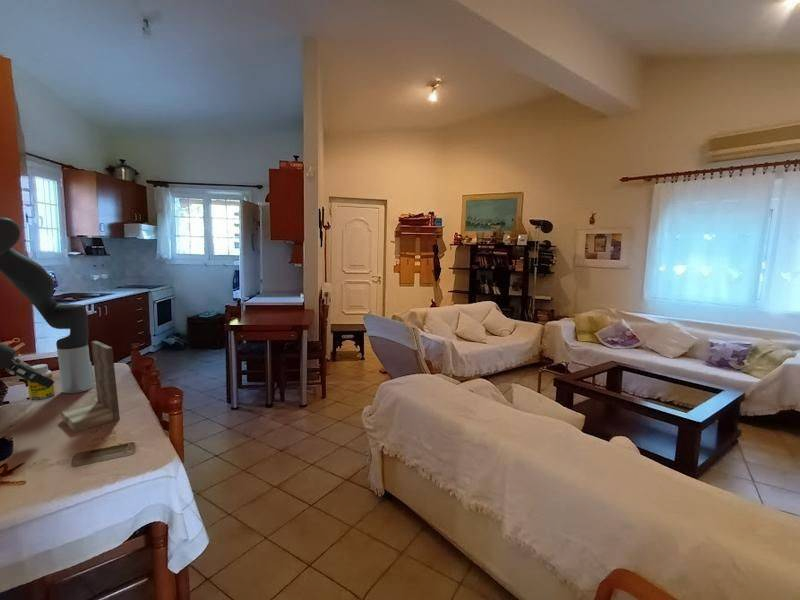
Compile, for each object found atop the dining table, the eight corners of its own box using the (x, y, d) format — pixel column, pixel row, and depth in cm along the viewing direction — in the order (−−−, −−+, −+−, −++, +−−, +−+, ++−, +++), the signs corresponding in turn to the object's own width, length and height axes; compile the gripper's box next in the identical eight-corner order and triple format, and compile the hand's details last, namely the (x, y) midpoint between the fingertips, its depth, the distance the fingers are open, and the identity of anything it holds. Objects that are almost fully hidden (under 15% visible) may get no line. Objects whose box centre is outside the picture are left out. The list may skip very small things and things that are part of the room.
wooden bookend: (61, 420, 129) (52, 348, 125) (104, 408, 138) (96, 340, 134) (75, 433, 120) (66, 356, 117) (119, 419, 129) (112, 347, 126)
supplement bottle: (28, 404, 115) (23, 370, 113) (32, 397, 120) (27, 365, 118) (53, 400, 118) (49, 367, 116) (56, 393, 123) (52, 362, 121)
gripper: (4, 345, 106) (66, 376, 117) (-7, 337, 114) (52, 366, 125) (-22, 370, 102) (45, 399, 114) (-31, 359, 111) (32, 387, 122)
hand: (48, 382), depth 119 cm, fingers closed on supplement bottle, 5 cm apart
